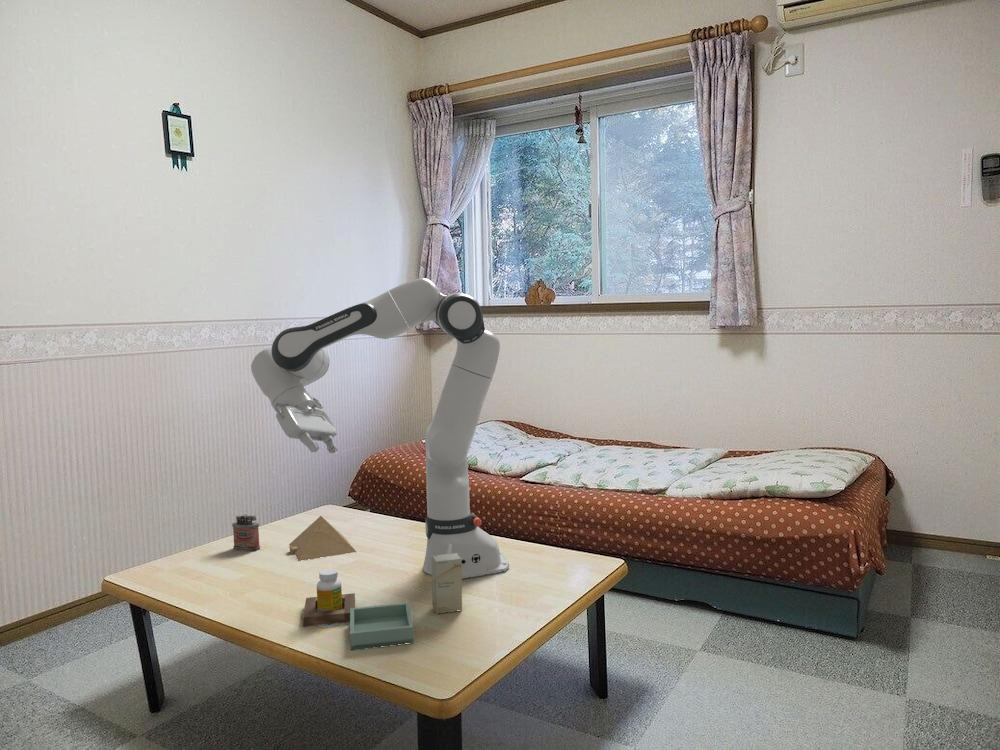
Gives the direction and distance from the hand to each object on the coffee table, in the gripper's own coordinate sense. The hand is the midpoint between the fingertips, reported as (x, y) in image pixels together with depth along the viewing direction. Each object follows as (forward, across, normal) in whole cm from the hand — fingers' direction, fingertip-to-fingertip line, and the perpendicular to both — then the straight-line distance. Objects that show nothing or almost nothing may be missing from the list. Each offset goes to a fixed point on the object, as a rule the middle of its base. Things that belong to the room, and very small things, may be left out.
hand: (325, 451), depth 173 cm
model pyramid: (+10, +35, +31) cm, 48 cm away
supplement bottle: (+32, -5, +19) cm, 37 cm away
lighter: (-3, +31, +48) cm, 57 cm away
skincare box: (+47, +2, -2) cm, 47 cm away
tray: (+43, -12, +8) cm, 45 cm away
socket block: (+32, -5, +18) cm, 37 cm away
